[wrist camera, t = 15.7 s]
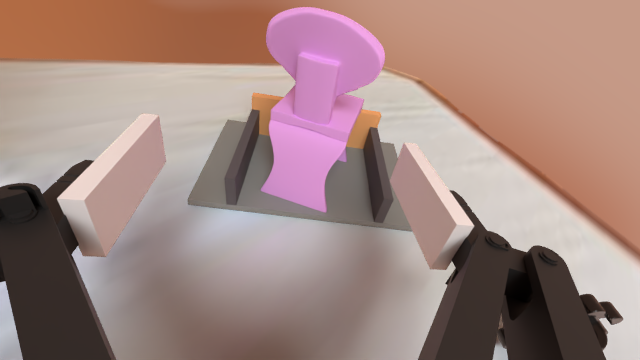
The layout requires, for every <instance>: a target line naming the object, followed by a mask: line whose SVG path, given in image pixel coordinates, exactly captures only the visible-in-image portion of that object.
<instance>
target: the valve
mask: <svg viewBox="0 0 640 360" xmlns="http://www.w3.org/2000/svg"><path fill="white" fill-rule="evenodd" d="M580 298H581V301H582V303H583V305H584V308H585V310H586V312H587V315H588V317H589V320H590V322H591V324H592V327H593V329H594V332H595V334H596V336H597V339H598V341H599V344H600V346H601V348H602V351H603V350H604V348H605V347H606V345H607V334H608V331H607V330H606V329H605V327H604V326H603V325H602V323H601V322H600V320H599V319H600V318H605V317H606V318H607V320H608V321H609V322H610V324H611V325H614V324H617V323H619V322H621V321H623V317H622V316H621V315H620V314H619V312H618V311H617V310H616V309H615V307H614V306H613V305H612V303H610V302H598V301H597V300H596V298H595V297H594V296H593V295H591V294H583V295H580ZM502 322H503V320H502ZM497 336H498V338H499V340H500V342H501V344H502V346H503V348H505V349H507V347H506V340H505V334H504V328H501V329H499V330H498V332H497Z"/></svg>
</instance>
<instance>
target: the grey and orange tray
mask: <svg viewBox="0 0 640 360" xmlns="http://www.w3.org/2000/svg"><path fill="white" fill-rule="evenodd" d="M283 98H284V97H278V96H272V95H265V94H259V93H253V95H252V111H251V113H250V116H249V118H248V121H247V123H246V122H239V121H232V120H227V122H226V124H225V126H224V128H223V130H222V132H221V134H220V136H219V138H218V140H217V142H216V144H215V146H214V148H213V150H212V152H211V154H210V156H209V158H208V160H207V162H206V164H205V166H204V168H203V170H202V172H201V174H200V176H199V178H198V180H197V182H196V184H195V186H194V188H193V190H192V192H191V194H190V196H189V198H188V204H189V205H196V206H205V207H213V208H221V209H230V210H238V211H247V212H255V213H263V214H272V215H280V216H288V217H297V218H305V219H314V220H322V221H330V222H339V223H347V224H355V225H364V226H372V227H380V228H389V229H397V230H406V231H412V228H411V226H410V224H409V222H408V220H407V218H406V215H405V213H404V211H403V209H402V207H401V205H400V202H399V200H398V198H397V196H396V194H395V192H394V189H393V187H392V185H391V183H390V179H391V176H392V173H393V171H394V168H395V165H396V163H397V160H398V158H397V154H396V151H395V147H394V144H391V143H384V142H380V138H379V134H378V130H377V127H378V124H379V121H380V118H381V114H380V112H376V111H369V110H363V109H361V113H360V114H359V116H358V118H357V120H356V122H355V124H354V127H353V129H352V132H351V134H350V136H349V139H348V141H347V144H346V154H347V162H343V161H340V160H336V162H335V163H334V164H333V165H332V167H331V168H330V170H329V171H328V174H327V176H326V180H325V197H326V204H327V212H326V213H325V212H321V211H318V210H315V209H312V208H309V207H306V206H303V205H300V204H297V203H294V202H291V201H288V200H285V199H282V198H280V197H277V196H274V195H271V194H268V193H265V192H262V191H261V188H262V186H263V185H264V183H265V182H266V180H267V179H268V177H269V175H270V173H271V171H272V167H273V164H274V153H273V147H272V142H271V138H270V134H269V123H270V120H271V109H272V108H273V107H274V106H275V105H276V104H277V103H278V102H279V101H281V100H282V99H283Z"/></svg>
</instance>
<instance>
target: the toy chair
mask: <svg viewBox="0 0 640 360" xmlns="http://www.w3.org/2000/svg"><path fill="white" fill-rule="evenodd" d="M266 44H267V47H268V50H269V51H270V53H271V55H272V56H273V57H274V58H275V60H276V61H278V62H279V63H280V64H281V65H282V66H283V67H284V68H285V70H286V71H287V72H288V73H289V74H290V75H291V76H292V77H293V78H294V79H295V81H296V85H295V86H294V87H293V88H292V89H291V90H290V92H289V93H288V94H287V95H286V96H285V97H284V98H283V99H282V100H281V101H279V102H278V103H277V104H276V105H275V106H274V107H273V108H272V109H271V120H270V123H269V134H270V138H271V142H272V147H273V153H274V164H273V167H272V171H271V173H270V175H269V177H268V179H267V180H266V182H265V183H264V185H263V186H262V188H261V191H262V192H265V193H268V194H271V195H274V196H277V197H280V198H282V199H285V200H288V201H291V202H294V203H297V204H300V205H303V206H306V207H309V208H312V209H315V210H318V211H321V212H325V213H326V212H327V204H326V197H325V180H326V176H327V174H328V171H329V170H330V168H331V167H332V165H333V164H334V163H335V162H336V160H340V161H343V162H347V154H346V144H347V141H348V139H349V136H350V134H351V132H352V129H353V127H354V124H355V122H356V120H357V118H358V116H359V114H360V113H361V109H362V105H363V102H364V99H361V98H358V97H354V96H350V95H346V94H344V93H347V92H350V91H354V90H357V89H358V88H360V87H363V86H365V85H368V84H370V83H371V82H373V81H374V80H375V79H376V78H377V76H378V75H379V73H380V72H381V70H382V68H383V65H384V62H385V53H384V50H383V47H382V45H381V44H380V42H379V41H378V40H377V39H376V38H375V37H374V36H373V35H372V34H371V33H370V32H369V31H368V30H366V29H365V28H364V27H362V26H361V25H360V24H358V23H356V22H355V21H353V20H351V19H350V18H348V17H345V16H343V15H341V14H338V13H335V12H331V11H327V10H323V9H319V8H313V7H301V8H293V9H290V10H286V11H283V12H281V13H279V14H277V15H276V16H274V17H273V18H272V20H271V21H270V22H269V24H268V28H267V33H266Z"/></svg>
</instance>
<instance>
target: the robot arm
mask: <svg viewBox="0 0 640 360" xmlns="http://www.w3.org/2000/svg"><path fill="white" fill-rule="evenodd" d="M165 163H166V157H165V151H164V145H163V138H162V132H161V126H160V120H159V115H153V114H144V113H142V114H141V115H140V116H139V117H138V118H137V119H136V120H135V121H134V122H133V123H132V124H131V125H130V126H129V127H128V128H127V129H126V130H125V131H124V132H123V133H122V134H121V135H120V136H119V137H118V138H117V139H116V140H115V141H114V142H113V143H112V144H111V145H110V146H109V147H108V148H107V149H106V150H105V151H104V152H103V153H102V154H101V155H100V156H99V157H98V158H97V159H96V160H95V161H92V160H84V161H82V162H80V163H78V164H76V165H74V166H72V167H71V168H70V169H69V170H68V171H67V172H66V173H65V174H64V176H62V177H60V178H59V179H58V180H57V182H55V183H54V184H53V185H52V186H51V187H50V188H49V189H47V190H46V191H45V192H44V193H43V194H42V193H41V191H40V189H39V188H38V187H37V186H36V185H33V184H29V183H17V184H11V185H6V186H3V187H0V282H3V281H6V285H7V290H8V294H9V299H10V303H11V308H12V312H13V316H14V321H15V325H16V330H17V334H18V339H19V343H20V348H21V352H22V357H23V360H116V358H115V356H114V353H113V351H112V349H111V346H110V344H109V342H108V339H107V337H106V334H105V332H104V330H103V327H102V325H101V323H100V320H99V318H98V316H97V313H96V311H95V308H94V306H93V304H92V301H91V299H90V297H89V294H88V292H87V289H86V287H85V285H84V282H83V280H82V278H81V275H80V273H79V271H78V268H77V266H76V263H75V261H74V259H73V257H72V255H71V254H72V253H73V251H74V250H75V249H76V247H77V246H79V248H80V251H81V253H82V255H83V256H96V257H106V256H107V254H108V253H109V251H110V249H111V248H112V246H113V245H114V243H115V242H116V240H117V238H118V237H119V235H120V234H121V232H122V231H123V229H124V227H125V226H126V224H127V223H128V221H129V219H130V218H131V216H132V215H133V213H134V212H135V210H136V208H137V207H138V205H139V204H140V202H141V200H142V199H143V197H144V196H145V194H146V193H147V191H148V189H149V188H150V186H151V185H152V183H153V181H154V180H155V178H156V177H157V175H158V174H159V172H160V170H161V169H162V167H163V166H164V164H165ZM390 183H391V185H392V187H393V189H394V192H395V194H396V196H397V198H398V200H399V202H400V205H401V207H402V209H403V211H404V213H405V215H406V218H407V220H408V222H409V224H410V226H411V228H412V231H413V233H414V235H415V237H416V239H417V241H418V244H419V246H420V248H421V250H422V252H423V254H424V257H425V259H426V261H427V263H428V265H429V267H430V269H439V270H446V269H447V267H448V266H449V264H450V263H451V261H452V262H453V263H454V265H455V267H456V269H455V270H454V272H453V273H452V275H451V276H450V277H449V279H448V280H447V282H446V283H445V284H447V285H448V286H447V288H446V291H445V293H444V296H443V298H442V301H441V303H440V306H439V308H438V311H437V313H436V316H435V318H434V321H433V323H432V326H431V328H430V331H429V333H428V336H427V338H426V341H425V343H424V346H423V348H422V351H421V353H420V356H419V358H418V360H492V359H493V354H494V348H495V343H496V337H497V332H498V326H499V321H500V315H501V313H502V320H503V327H504V334H505V340H506V347H507V354H508V360H606V358H605V356H604V353H603V351H602V348H601V346H600V344H599V341H598V339H597V336H596V334H595V332H594V329H593V327H592V324H591V322H590V320H589V317H588V315H587V312H586V310H585V308H584V305H583V303H582V301H581V298H580V296H579V293H578V291H577V289H576V286H575V284H574V281H573V279H572V277H571V274H570V272H569V269H568V267H567V265H566V263H565V262H564V260H563V259H562V258H561V257H560V256H559V255H558V254H557V253H555V252H554V251H552V250H550V249H548V248H546V247H542V246H533V247H532V248H531V249H530V250H529V251H528V252H523V251H520V250H517V249H513V248H512V247H511V245H510V244H509V242H508V241H506V240H505V239H504V238H503V237H501V236H500V235H498V234H496V233H494V232H491V231H487V230H486V229H485V227H484V226H483V225H482V223H481V222H480V221H479V219H478V218H477V217H476V215H475V214H474V213H473V212H472V210H471V209H470V207H469V206H468V205H467V203H466V202H465V200H464V199H463V198H462V197H461V196H460V195H458V194H457V193H456V192H455V191H451V190H449V189H448V188H447V186H446V185H445V184H444V182H443V181H442V179H441V178H440V177H439V175H438V174H437V172H436V171H435V169H434V168H433V167H432V165H431V164H430V162H429V161H428V160H427V158H426V157H425V155H424V154H423V153H422V151H421V150H420V148H419V147H418V145H417V144H413V143H404V144H403V146H402V149H401V152H400V155H399V157H398V160H397V163H396V165H395V168H394V171H393V173H392V176H391V179H390Z"/></svg>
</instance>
